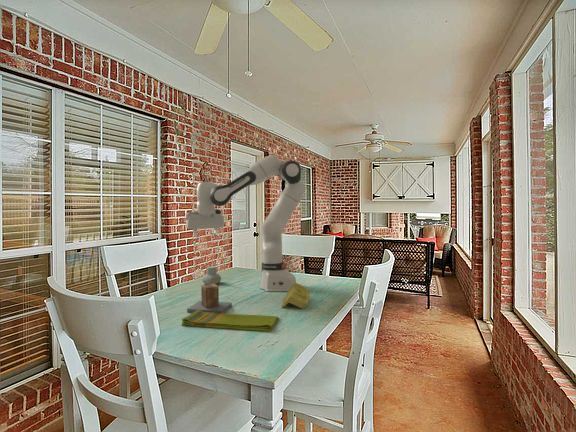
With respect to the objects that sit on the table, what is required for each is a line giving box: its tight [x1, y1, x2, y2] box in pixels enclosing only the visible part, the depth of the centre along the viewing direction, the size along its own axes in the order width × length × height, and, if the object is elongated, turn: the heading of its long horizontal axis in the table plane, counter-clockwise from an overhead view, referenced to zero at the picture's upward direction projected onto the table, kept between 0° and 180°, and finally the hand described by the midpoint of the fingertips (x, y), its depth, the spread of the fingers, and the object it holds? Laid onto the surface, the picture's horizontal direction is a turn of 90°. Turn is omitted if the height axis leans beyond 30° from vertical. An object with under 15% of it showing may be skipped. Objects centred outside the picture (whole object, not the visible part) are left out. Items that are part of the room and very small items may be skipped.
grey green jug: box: [201, 265, 222, 285], centre depth 197 cm, size 11×8×10 cm
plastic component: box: [280, 282, 310, 310], centre depth 160 cm, size 20×7×10 cm
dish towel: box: [181, 310, 280, 333], centre depth 134 cm, size 15×36×3 cm, turn 79°
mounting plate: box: [186, 300, 233, 314], centre depth 150 cm, size 16×12×6 cm
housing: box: [200, 284, 220, 308], centre depth 150 cm, size 6×6×9 cm
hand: (205, 236), depth 181 cm, fingers open, 8 cm apart
